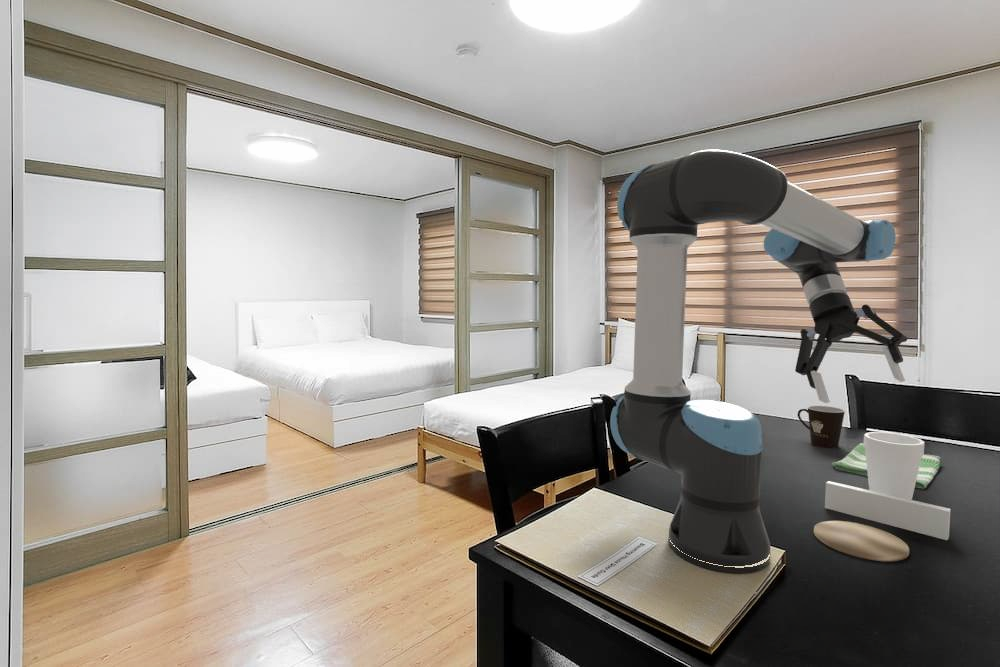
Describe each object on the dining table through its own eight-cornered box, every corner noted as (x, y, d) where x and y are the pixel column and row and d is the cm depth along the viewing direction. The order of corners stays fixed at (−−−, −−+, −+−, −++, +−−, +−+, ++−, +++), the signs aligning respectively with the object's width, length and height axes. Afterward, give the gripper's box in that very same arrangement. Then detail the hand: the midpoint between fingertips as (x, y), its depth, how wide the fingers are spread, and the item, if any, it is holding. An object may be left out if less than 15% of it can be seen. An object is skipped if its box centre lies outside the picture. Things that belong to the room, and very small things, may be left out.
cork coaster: (900, 570, 76) (900, 566, 76) (803, 540, 85) (803, 536, 85) (915, 542, 85) (916, 538, 85) (826, 517, 94) (826, 514, 94)
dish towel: (829, 470, 121) (830, 459, 121) (857, 450, 137) (857, 440, 137) (925, 491, 108) (926, 479, 108) (944, 467, 124) (944, 456, 123)
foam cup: (866, 489, 108) (869, 429, 107) (923, 502, 101) (926, 438, 100) (856, 502, 101) (860, 438, 100) (916, 516, 95) (920, 448, 94)
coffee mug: (850, 449, 137) (852, 412, 136) (818, 449, 137) (819, 412, 136) (823, 437, 148) (825, 403, 147) (793, 437, 148) (795, 403, 148)
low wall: (947, 540, 85) (949, 511, 85) (824, 507, 98) (825, 482, 98) (948, 537, 86) (950, 508, 86) (827, 505, 100) (828, 480, 99)
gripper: (901, 279, 103) (944, 374, 92) (781, 328, 121) (806, 413, 110) (884, 265, 99) (927, 363, 89) (763, 318, 117) (787, 405, 107)
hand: (860, 391), depth 99 cm, fingers open, 13 cm apart
